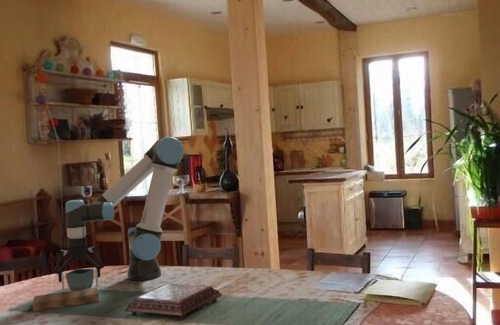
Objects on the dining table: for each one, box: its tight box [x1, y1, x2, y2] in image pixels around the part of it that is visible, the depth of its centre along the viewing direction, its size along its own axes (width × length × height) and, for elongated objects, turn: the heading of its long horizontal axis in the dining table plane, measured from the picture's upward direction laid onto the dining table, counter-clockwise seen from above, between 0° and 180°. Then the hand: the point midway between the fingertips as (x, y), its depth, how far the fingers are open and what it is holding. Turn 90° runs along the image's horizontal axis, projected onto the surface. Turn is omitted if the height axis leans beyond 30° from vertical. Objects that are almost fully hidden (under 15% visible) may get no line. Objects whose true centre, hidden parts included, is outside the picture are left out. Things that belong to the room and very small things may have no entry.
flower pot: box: [64, 268, 95, 291], centre depth 236 cm, size 9×9×9 cm
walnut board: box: [32, 286, 100, 312], centre depth 221 cm, size 24×12×3 cm, turn 108°
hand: (80, 287), depth 236 cm, fingers open, 13 cm apart
